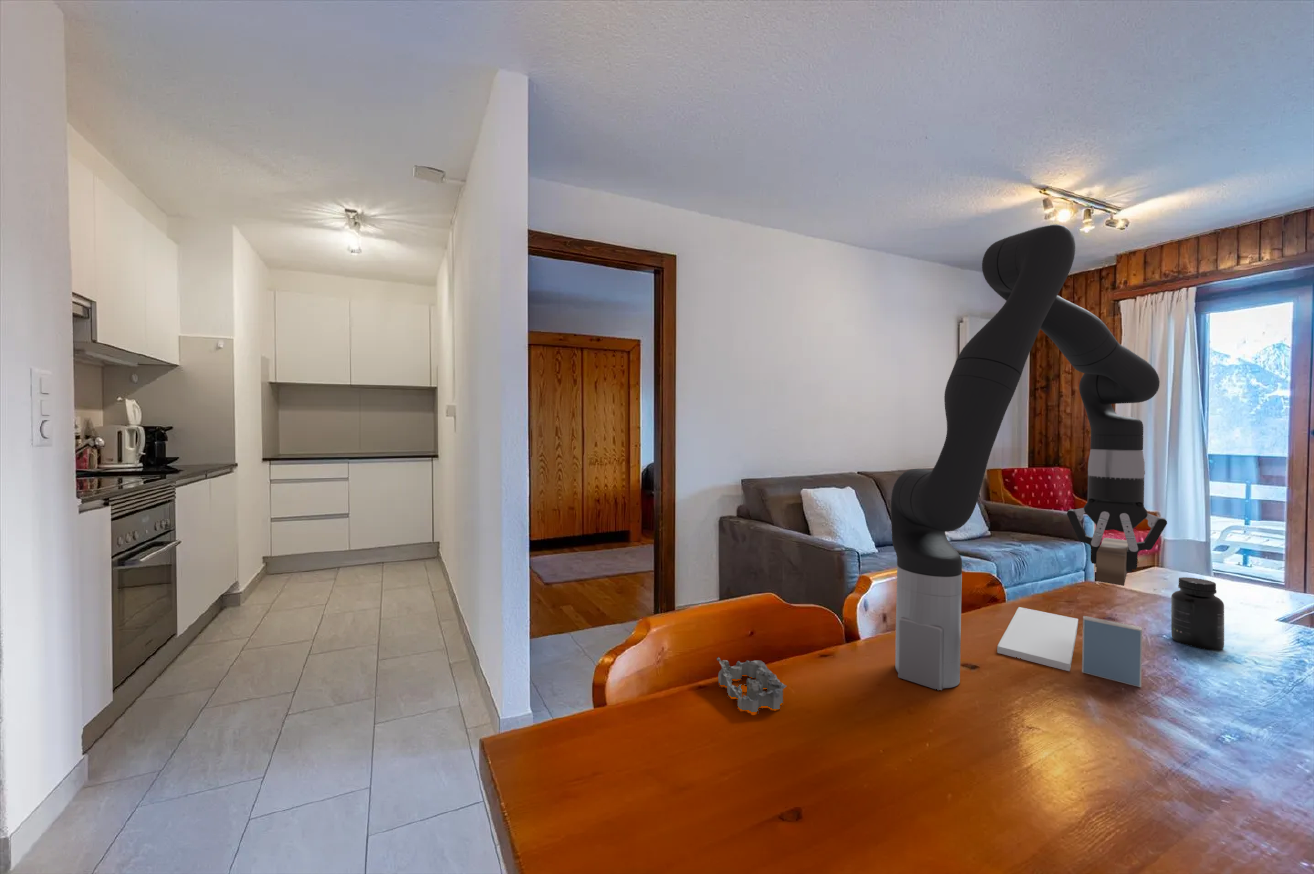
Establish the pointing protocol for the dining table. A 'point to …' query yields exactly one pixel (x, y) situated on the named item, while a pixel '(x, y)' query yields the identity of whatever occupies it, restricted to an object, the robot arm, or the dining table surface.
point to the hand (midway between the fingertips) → (1113, 568)
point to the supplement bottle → (1197, 614)
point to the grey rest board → (1040, 638)
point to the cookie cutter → (752, 684)
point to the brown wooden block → (1112, 561)
